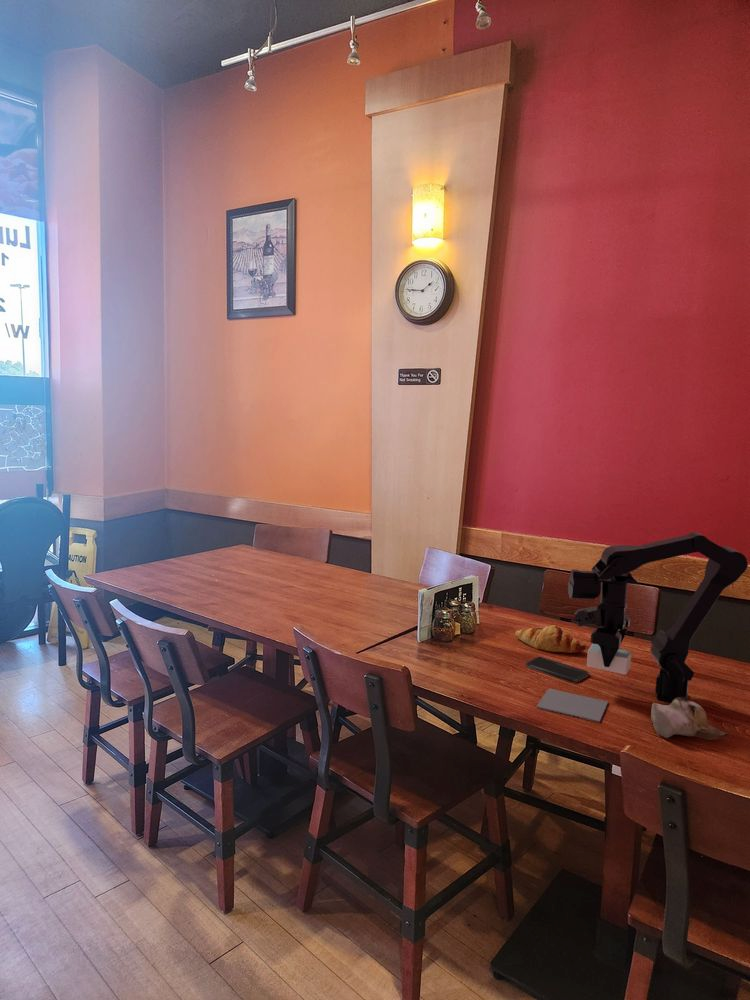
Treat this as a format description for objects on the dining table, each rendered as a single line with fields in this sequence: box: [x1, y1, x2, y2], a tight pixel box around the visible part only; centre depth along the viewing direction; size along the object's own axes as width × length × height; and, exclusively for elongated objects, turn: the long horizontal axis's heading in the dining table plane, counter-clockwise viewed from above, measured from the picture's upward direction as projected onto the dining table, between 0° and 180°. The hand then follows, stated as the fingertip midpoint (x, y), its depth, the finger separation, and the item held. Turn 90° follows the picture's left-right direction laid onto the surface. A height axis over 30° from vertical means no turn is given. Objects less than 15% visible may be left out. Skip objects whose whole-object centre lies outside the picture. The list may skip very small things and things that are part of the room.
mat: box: [536, 688, 609, 724], centre depth 153 cm, size 14×11×1 cm
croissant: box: [514, 624, 587, 654], centre depth 189 cm, size 21×10×8 cm, turn 54°
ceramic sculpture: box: [650, 697, 730, 741], centre depth 140 cm, size 11×9×15 cm
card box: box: [586, 643, 632, 676], centre depth 158 cm, size 9×6×4 cm, turn 59°
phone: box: [525, 656, 590, 684], centre depth 172 cm, size 8×1×15 cm
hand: (608, 662), depth 158 cm, fingers closed on card box, 6 cm apart
